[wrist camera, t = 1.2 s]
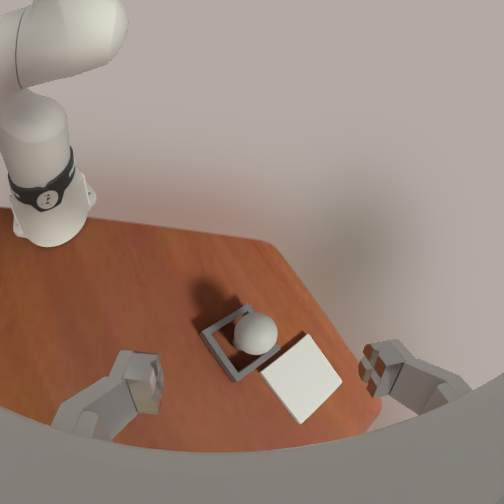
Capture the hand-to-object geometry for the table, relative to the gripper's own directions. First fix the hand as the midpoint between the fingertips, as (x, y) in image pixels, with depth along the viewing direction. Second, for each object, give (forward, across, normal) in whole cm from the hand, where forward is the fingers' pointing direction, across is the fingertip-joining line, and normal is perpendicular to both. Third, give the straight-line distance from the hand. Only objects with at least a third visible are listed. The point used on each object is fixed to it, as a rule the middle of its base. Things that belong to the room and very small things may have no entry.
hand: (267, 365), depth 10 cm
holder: (+29, -1, +21) cm, 36 cm away
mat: (+26, -12, +28) cm, 40 cm away
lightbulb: (+30, -1, +21) cm, 36 cm away
